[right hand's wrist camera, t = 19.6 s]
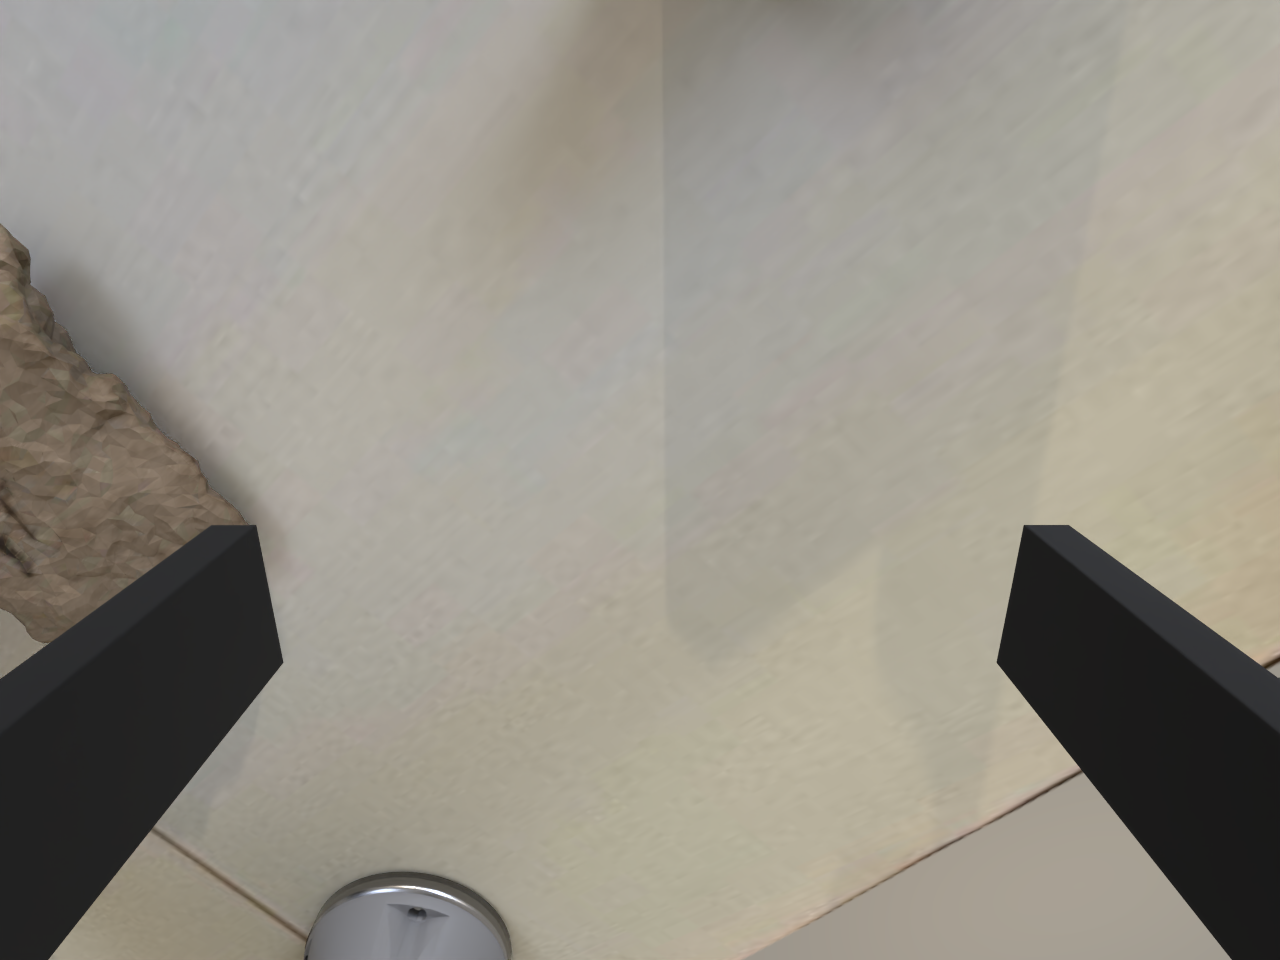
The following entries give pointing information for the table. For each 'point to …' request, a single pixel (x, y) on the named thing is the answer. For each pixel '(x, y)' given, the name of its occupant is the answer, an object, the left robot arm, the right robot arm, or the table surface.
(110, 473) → the stone
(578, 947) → the table surface
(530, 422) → the table surface
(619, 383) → the table surface
